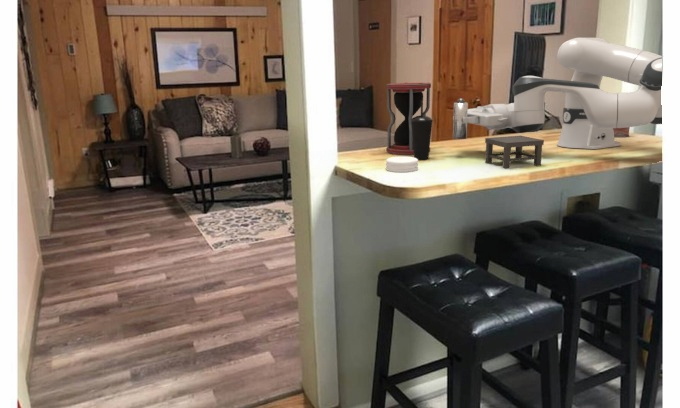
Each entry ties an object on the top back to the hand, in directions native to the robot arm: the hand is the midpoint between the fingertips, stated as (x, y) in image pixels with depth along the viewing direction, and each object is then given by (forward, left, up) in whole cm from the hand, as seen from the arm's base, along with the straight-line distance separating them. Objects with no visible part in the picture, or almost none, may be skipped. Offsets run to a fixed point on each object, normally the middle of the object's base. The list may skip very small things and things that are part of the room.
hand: (458, 119), depth 178 cm
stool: (-9, +19, -13) cm, 25 cm away
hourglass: (+11, -18, -13) cm, 25 cm away
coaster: (+26, +12, -13) cm, 31 cm away
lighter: (-81, -14, -13) cm, 84 cm away
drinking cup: (+13, -2, -13) cm, 18 cm away
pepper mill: (-1, 0, -6) cm, 7 cm away
